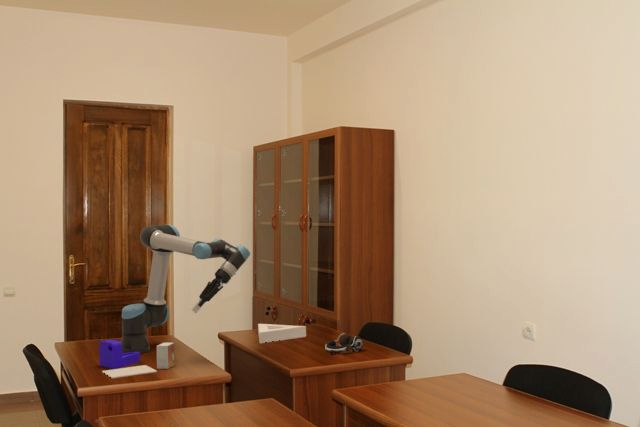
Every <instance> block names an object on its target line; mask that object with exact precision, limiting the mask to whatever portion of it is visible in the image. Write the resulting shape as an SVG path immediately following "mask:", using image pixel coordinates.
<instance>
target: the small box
mask: <svg viewBox="0 0 640 427" xmlns="http://www.w3.org/2000/svg"><path fill="white" fill-rule="evenodd" d="M175 347H176V345H175V342H161V343H160V344H158V345H156V369H160V370H161V369H163V370H164V369H165V370H166V369H167V370H168V369H170V368H172V367H174V366H176V361H175V360H176V358H175V357H176V355H175V354H176V351H175V349H176V348H175Z"/></svg>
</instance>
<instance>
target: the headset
mask: <svg viewBox="0 0 640 427" xmlns="http://www.w3.org/2000/svg"><path fill="white" fill-rule="evenodd" d="M338 342H339V343H338ZM337 345H338V346H337ZM363 346H364V340H363V338H361V337H360V336H359V335H354V336H352V335H351V333H341V334H340V335H339V336H338V338H337V340H336V339H335V340H330V341H329V342H327V343H325V345H324V349H325V350H326V351H327V352H328V353H329V354H330V355H334V354H340V353H344V352H352V351H354V352H359V351H360V350H362V348H363Z"/></svg>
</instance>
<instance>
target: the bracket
mask: <svg viewBox="0 0 640 427" xmlns="http://www.w3.org/2000/svg"><path fill="white" fill-rule="evenodd" d="M98 347H99V348H98V350H99V367H102V366H104V367H103V368H106V367H107V369H110V370H113V369H120V368H126V367H127V366H130V365H133V364H136V363H139V362H140V361H141V353H140V352H130V353H122V344H121V341H119V340H114V339H106V340H101V341H100V342H99V346H98Z"/></svg>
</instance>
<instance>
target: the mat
mask: <svg viewBox="0 0 640 427" xmlns="http://www.w3.org/2000/svg"><path fill="white" fill-rule="evenodd" d="M101 372H102V374H104V373H105V374H104V375H106V376H107V375H108V376H107V377H109V378H110V377H111V379H119V378H126V377H132V376H138V375H145V374H146V375H147V374H152V373H158V371H157V370H156V369H154V368H152V367H151V366H148V365H147V364H144V365H143V364H142V365H136V366H129V367H127V366H126V367H121V368H117V369H108V370H102V371H101Z"/></svg>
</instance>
